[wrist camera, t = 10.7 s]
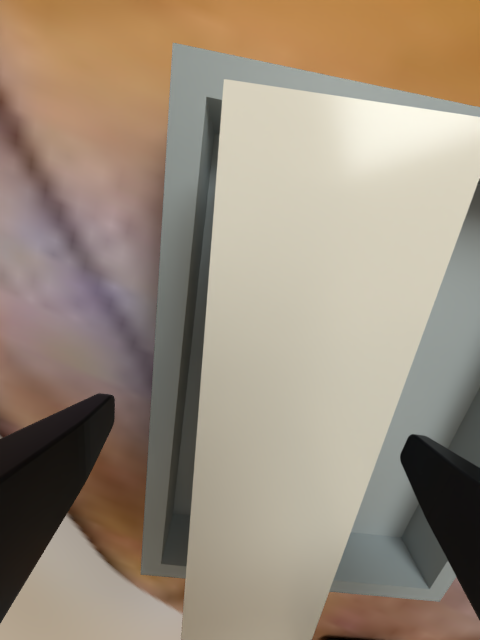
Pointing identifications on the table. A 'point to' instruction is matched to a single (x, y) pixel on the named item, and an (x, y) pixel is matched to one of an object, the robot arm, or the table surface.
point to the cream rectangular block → (309, 337)
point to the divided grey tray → (188, 339)
